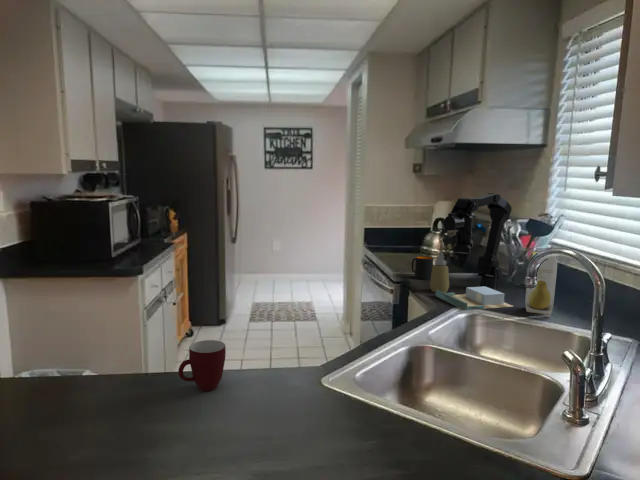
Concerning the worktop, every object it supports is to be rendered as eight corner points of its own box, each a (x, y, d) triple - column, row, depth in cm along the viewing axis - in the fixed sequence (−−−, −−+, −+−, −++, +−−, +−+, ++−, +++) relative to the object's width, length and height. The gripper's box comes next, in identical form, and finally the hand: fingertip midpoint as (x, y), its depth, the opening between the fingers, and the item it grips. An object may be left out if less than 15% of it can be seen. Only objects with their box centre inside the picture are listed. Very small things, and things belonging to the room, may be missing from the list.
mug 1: (187, 402, 101) (186, 358, 99) (174, 388, 107) (173, 346, 106) (231, 389, 107) (231, 348, 105) (216, 377, 113) (216, 337, 112)
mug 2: (417, 274, 237) (418, 254, 235) (435, 279, 227) (436, 258, 226) (405, 276, 232) (406, 255, 230) (423, 281, 222) (425, 259, 221)
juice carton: (524, 315, 171) (530, 250, 168) (523, 309, 178) (529, 247, 175) (552, 318, 168) (559, 253, 164) (550, 312, 175) (557, 249, 171)
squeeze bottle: (451, 296, 195) (453, 253, 192) (431, 295, 195) (433, 253, 192) (446, 291, 203) (448, 250, 200) (427, 291, 203) (429, 250, 200)
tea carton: (484, 295, 193) (485, 286, 192) (503, 303, 181) (504, 293, 181) (465, 297, 190) (466, 287, 189) (484, 305, 179) (484, 295, 178)
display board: (481, 295, 197) (481, 287, 196) (513, 309, 178) (514, 300, 178) (435, 298, 190) (436, 290, 190) (464, 313, 171) (465, 303, 171)
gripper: (447, 225, 201) (445, 260, 204) (441, 230, 184) (439, 268, 187) (474, 226, 197) (471, 262, 200) (470, 232, 180) (468, 271, 183)
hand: (462, 266), depth 192 cm, fingers open, 9 cm apart
